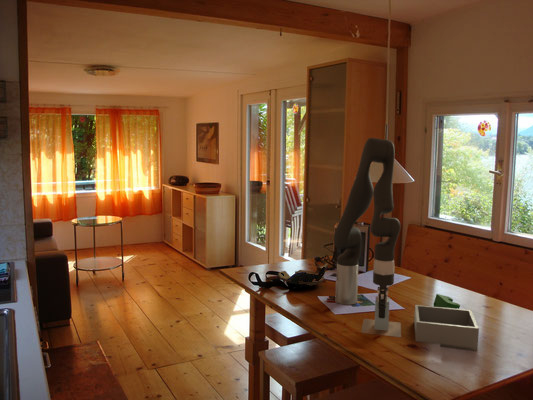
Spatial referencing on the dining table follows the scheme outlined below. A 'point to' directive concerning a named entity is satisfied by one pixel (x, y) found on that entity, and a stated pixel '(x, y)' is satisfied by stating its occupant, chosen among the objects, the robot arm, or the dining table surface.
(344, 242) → the robot arm
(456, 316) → the bin
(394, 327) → the stud block
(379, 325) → the pale grey rectangular block
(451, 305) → the clamp
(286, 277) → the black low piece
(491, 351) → the dining table surface
